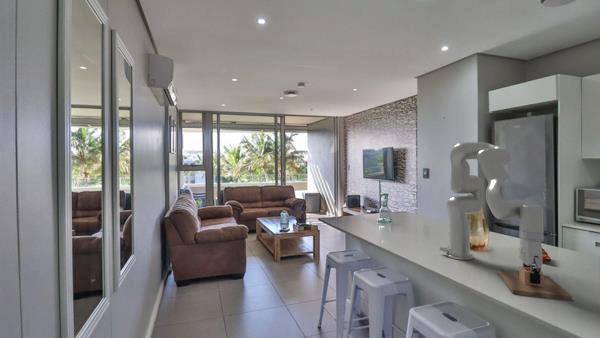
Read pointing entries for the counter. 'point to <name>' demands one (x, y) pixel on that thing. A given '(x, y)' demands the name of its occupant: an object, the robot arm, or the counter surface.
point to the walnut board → (534, 287)
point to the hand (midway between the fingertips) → (531, 279)
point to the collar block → (528, 276)
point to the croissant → (544, 256)
